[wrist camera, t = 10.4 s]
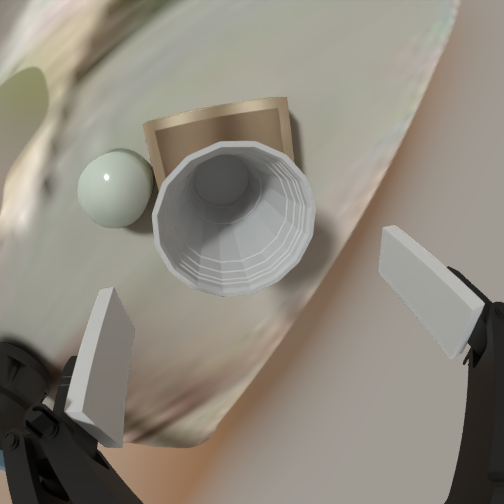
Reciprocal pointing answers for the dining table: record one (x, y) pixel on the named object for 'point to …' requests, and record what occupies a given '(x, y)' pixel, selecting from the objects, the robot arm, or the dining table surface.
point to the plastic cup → (233, 218)
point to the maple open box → (217, 131)
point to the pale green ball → (116, 188)
